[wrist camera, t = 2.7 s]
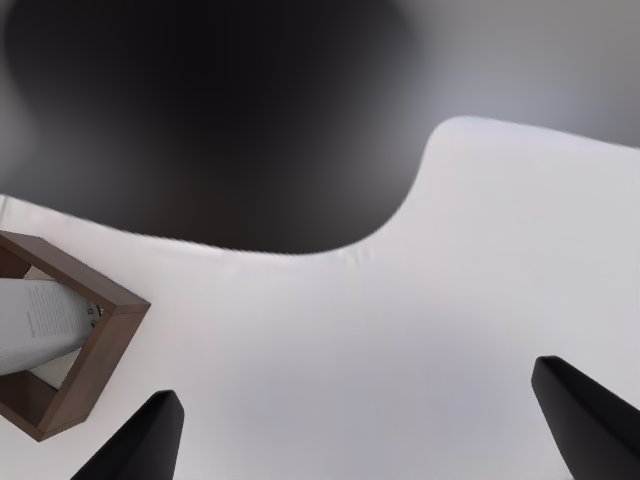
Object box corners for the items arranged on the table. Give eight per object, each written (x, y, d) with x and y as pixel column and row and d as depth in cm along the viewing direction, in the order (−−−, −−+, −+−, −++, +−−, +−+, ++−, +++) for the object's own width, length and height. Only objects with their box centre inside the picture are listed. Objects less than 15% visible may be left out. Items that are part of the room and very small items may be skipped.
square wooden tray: (85, 421, 23) (38, 443, 20) (-25, 344, 25) (-86, 352, 22) (151, 303, 24) (117, 305, 21) (39, 237, 26) (-10, 228, 22)
